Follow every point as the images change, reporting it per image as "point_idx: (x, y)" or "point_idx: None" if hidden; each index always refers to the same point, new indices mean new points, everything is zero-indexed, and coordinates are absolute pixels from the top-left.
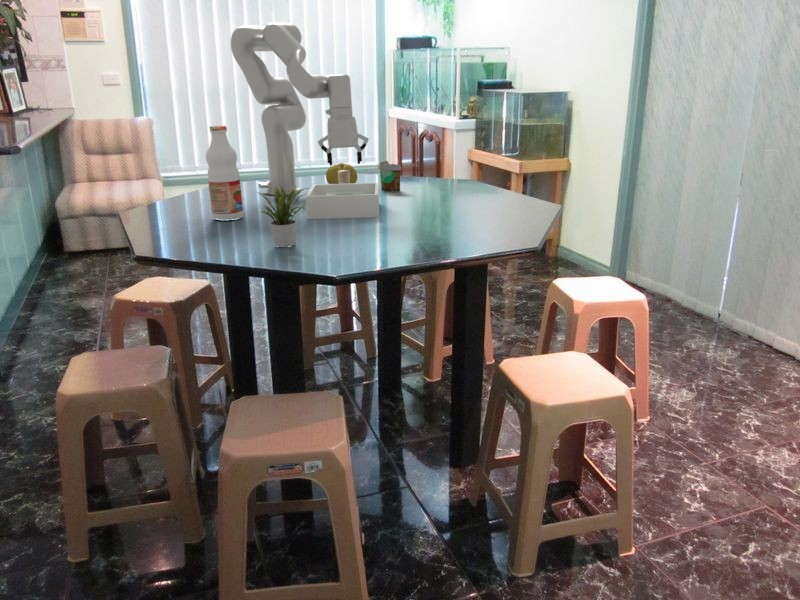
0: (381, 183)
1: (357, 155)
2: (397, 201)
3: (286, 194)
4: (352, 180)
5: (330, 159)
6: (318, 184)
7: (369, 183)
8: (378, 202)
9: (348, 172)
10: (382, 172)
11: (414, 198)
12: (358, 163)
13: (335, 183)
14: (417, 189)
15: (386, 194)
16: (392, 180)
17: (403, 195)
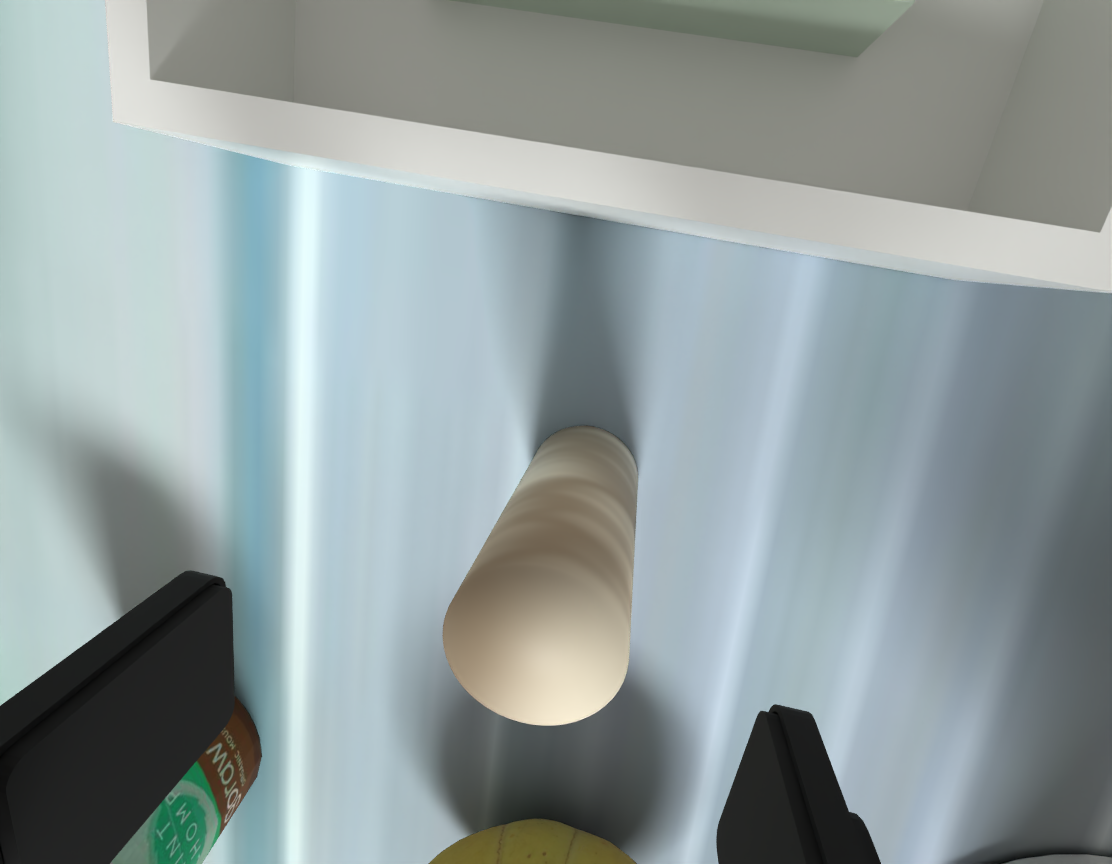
0: (226, 782)
1: (70, 706)
2: (131, 221)
3: (1087, 855)
4: (449, 858)
5: (820, 819)
6: (1033, 265)
7: (231, 94)
8: None
9: (469, 575)
10: (130, 845)
11: (3, 316)
12: (210, 578)
13: (615, 859)
14: (15, 663)
15: (227, 567)
16: None
17: (97, 477)
